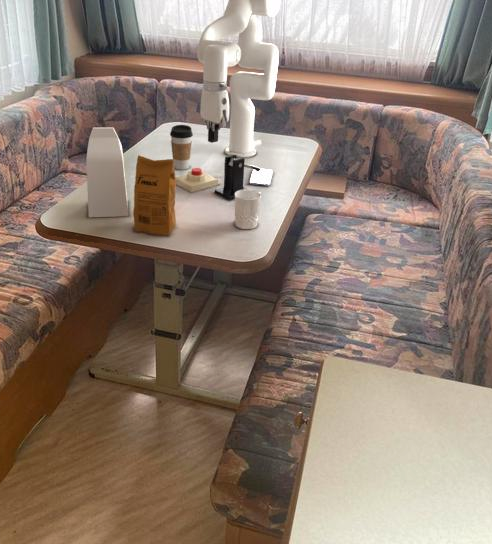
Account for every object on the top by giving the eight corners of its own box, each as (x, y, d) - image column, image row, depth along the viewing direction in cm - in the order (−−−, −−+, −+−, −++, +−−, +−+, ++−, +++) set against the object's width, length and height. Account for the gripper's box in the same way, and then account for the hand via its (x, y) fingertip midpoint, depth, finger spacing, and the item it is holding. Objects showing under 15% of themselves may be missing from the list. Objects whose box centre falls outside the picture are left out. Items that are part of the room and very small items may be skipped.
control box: (200, 176, 210) (201, 165, 208) (218, 184, 204) (218, 174, 202) (174, 183, 203) (174, 172, 201) (191, 192, 197) (191, 181, 195)
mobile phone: (248, 181, 204) (253, 167, 217) (248, 184, 205) (253, 170, 217) (269, 183, 203) (273, 169, 216) (269, 186, 204) (273, 171, 217)
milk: (88, 217, 177) (81, 133, 164) (90, 202, 186) (83, 122, 173) (128, 216, 178) (124, 133, 165) (127, 201, 188) (123, 122, 175)
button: (197, 171, 204) (197, 167, 203) (203, 174, 202) (203, 170, 201) (189, 173, 202) (189, 169, 201) (195, 177, 200) (195, 172, 199)
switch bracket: (236, 186, 203) (238, 151, 196) (251, 194, 197) (254, 158, 191) (214, 193, 197) (215, 157, 191) (229, 200, 192) (231, 163, 185)
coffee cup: (193, 163, 221) (194, 125, 214) (190, 171, 214) (191, 131, 207) (172, 162, 222) (172, 123, 214) (168, 170, 215) (168, 130, 207)
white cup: (231, 219, 179) (233, 189, 174) (256, 219, 180) (259, 189, 175) (234, 230, 172) (236, 199, 167) (260, 230, 173) (263, 199, 168)
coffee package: (141, 218, 177) (139, 149, 166) (180, 224, 175) (180, 154, 164) (129, 232, 169) (125, 160, 158) (169, 238, 166) (168, 165, 155)
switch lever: (249, 169, 201) (251, 162, 201) (259, 173, 198) (261, 166, 197) (225, 163, 193) (227, 156, 192) (235, 167, 189) (237, 160, 189)
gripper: (239, 89, 184) (236, 145, 193) (208, 80, 193) (207, 134, 202) (221, 91, 179) (219, 149, 188) (191, 83, 189) (190, 138, 198)
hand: (212, 141), depth 195 cm, fingers closed
